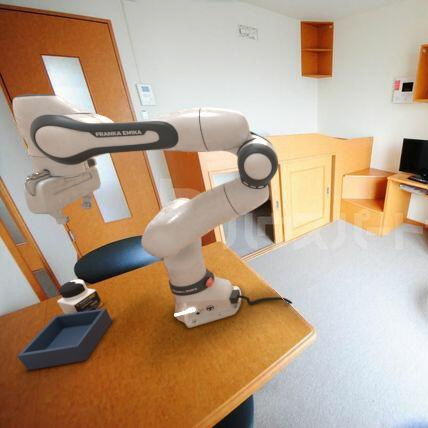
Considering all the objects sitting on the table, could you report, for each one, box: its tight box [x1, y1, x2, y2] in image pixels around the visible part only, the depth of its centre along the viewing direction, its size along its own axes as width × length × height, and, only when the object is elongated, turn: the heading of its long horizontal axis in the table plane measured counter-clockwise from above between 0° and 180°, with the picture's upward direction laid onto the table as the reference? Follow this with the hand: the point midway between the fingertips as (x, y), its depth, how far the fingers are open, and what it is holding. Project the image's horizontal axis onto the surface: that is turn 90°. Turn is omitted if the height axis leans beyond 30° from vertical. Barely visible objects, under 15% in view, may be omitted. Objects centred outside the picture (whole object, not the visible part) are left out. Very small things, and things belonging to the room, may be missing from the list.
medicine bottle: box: [56, 278, 104, 314], centre depth 81 cm, size 7×7×12 cm
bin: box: [16, 308, 113, 371], centre depth 71 cm, size 14×14×6 cm
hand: (76, 215), depth 65 cm, fingers open, 8 cm apart
